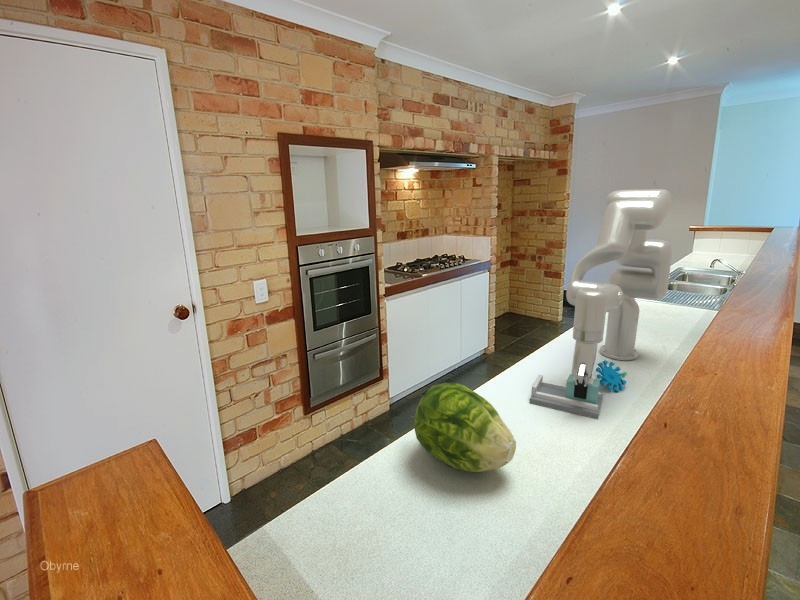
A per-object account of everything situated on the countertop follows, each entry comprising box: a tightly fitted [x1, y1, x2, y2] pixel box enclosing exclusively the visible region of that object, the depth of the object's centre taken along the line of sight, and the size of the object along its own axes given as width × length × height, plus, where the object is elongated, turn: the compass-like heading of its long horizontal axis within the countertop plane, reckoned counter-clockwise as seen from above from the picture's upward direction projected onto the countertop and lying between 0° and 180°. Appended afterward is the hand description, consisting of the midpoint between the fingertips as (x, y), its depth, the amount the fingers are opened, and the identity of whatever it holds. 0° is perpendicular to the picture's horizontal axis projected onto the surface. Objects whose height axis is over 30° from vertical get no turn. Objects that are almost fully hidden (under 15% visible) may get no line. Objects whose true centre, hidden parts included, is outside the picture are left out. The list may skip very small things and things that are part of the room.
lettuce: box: [413, 382, 517, 473], centre depth 90 cm, size 18×23×19 cm
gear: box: [595, 359, 628, 393], centre depth 124 cm, size 11×6×10 cm
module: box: [565, 373, 601, 404], centre depth 113 cm, size 5×8×6 cm, turn 59°
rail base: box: [529, 374, 604, 420], centre depth 116 cm, size 12×18×4 cm, turn 59°
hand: (582, 390), depth 113 cm, fingers open, 9 cm apart
